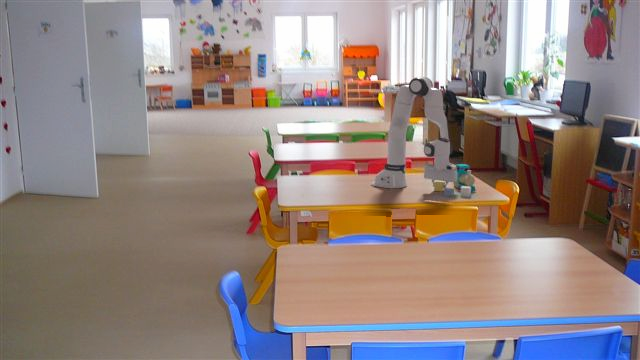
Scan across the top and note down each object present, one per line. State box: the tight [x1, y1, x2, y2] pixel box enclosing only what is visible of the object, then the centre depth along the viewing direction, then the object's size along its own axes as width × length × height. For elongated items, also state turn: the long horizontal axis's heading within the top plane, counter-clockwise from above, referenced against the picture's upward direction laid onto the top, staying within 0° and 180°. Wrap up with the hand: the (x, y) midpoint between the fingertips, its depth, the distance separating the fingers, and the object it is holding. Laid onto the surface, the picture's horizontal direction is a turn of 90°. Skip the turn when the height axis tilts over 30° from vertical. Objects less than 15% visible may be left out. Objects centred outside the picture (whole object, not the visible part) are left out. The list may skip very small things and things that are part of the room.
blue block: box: [443, 187, 455, 197], centre depth 391 cm, size 5×5×5 cm
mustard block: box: [433, 180, 446, 192], centre depth 402 cm, size 5×5×5 cm
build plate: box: [452, 191, 479, 200], centre depth 391 cm, size 13×13×1 cm
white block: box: [460, 186, 472, 197], centre depth 390 cm, size 5×5×5 cm
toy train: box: [453, 163, 477, 192], centre depth 409 cm, size 8×17×15 cm, turn 15°
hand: (439, 187), depth 402 cm, fingers closed on mustard block, 5 cm apart
